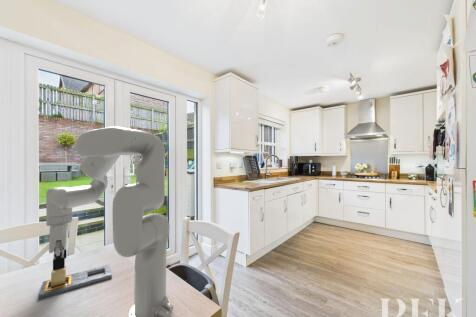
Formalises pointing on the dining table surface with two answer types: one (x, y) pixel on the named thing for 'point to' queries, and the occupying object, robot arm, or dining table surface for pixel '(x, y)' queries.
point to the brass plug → (58, 277)
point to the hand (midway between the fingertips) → (60, 263)
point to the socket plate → (76, 281)
